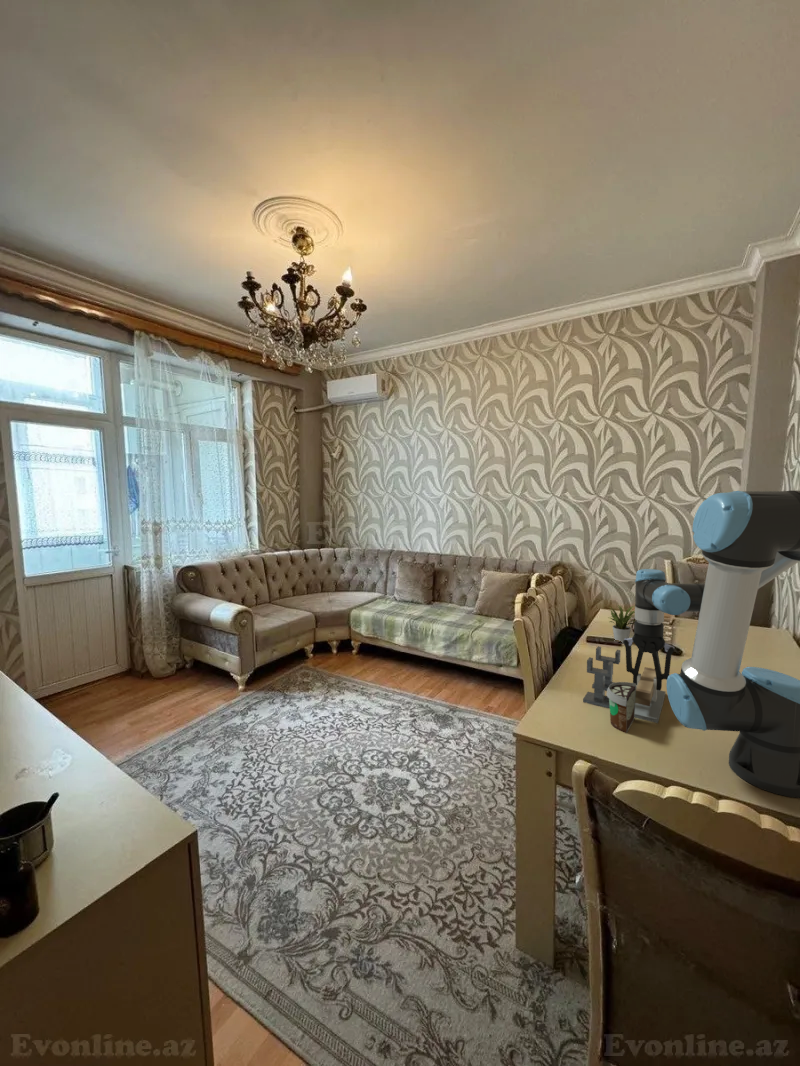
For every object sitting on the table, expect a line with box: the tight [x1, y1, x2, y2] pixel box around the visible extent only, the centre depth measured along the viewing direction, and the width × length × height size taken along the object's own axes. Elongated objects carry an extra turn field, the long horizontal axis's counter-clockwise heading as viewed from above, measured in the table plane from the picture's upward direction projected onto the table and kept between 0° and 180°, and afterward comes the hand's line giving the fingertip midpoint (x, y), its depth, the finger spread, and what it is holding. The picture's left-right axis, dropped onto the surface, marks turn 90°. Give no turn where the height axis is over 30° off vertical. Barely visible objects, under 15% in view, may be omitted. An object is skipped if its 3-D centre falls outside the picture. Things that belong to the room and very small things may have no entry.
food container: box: [605, 681, 637, 734], centre depth 121 cm, size 12×6×10 cm, turn 140°
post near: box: [582, 656, 614, 710], centre depth 133 cm, size 8×6×13 cm
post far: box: [591, 645, 621, 692], centre depth 142 cm, size 8×6×13 cm
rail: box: [635, 666, 656, 706], centre depth 130 cm, size 4×20×4 cm, turn 144°
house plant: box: [607, 604, 636, 644], centre depth 186 cm, size 14×14×16 cm
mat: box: [634, 685, 667, 724], centre depth 131 cm, size 21×8×1 cm, turn 144°
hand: (646, 697), depth 131 cm, fingers closed on rail, 4 cm apart
